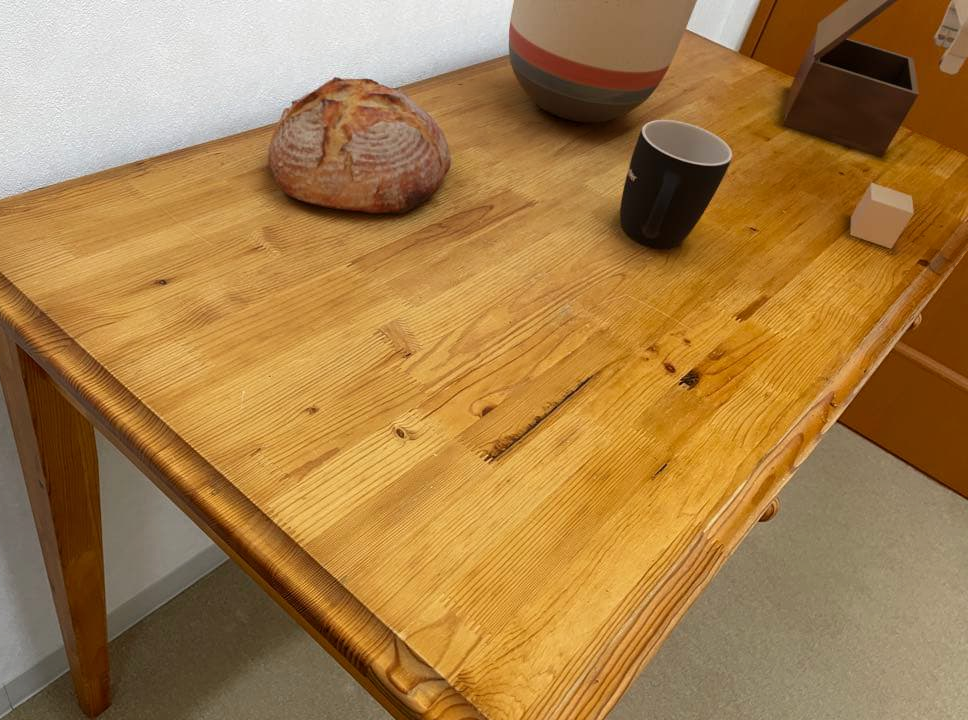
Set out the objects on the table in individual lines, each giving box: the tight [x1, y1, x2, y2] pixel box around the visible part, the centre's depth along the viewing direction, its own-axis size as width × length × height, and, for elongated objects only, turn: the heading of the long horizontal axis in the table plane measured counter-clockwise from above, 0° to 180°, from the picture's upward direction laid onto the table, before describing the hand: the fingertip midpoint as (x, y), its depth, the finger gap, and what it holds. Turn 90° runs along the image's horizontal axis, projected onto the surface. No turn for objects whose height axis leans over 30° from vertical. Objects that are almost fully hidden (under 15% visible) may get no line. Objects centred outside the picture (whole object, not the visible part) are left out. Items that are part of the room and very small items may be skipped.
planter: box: [508, 0, 698, 123], centre depth 100 cm, size 20×20×21 cm
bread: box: [267, 76, 452, 215], centre depth 82 cm, size 16×20×10 cm
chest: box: [782, 31, 920, 158], centre depth 118 cm, size 14×16×9 cm
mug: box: [619, 119, 733, 250], centre depth 83 cm, size 12×9×10 cm
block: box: [849, 182, 915, 249], centre depth 95 cm, size 5×5×5 cm
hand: (943, 57), depth 89 cm, fingers open, 8 cm apart
